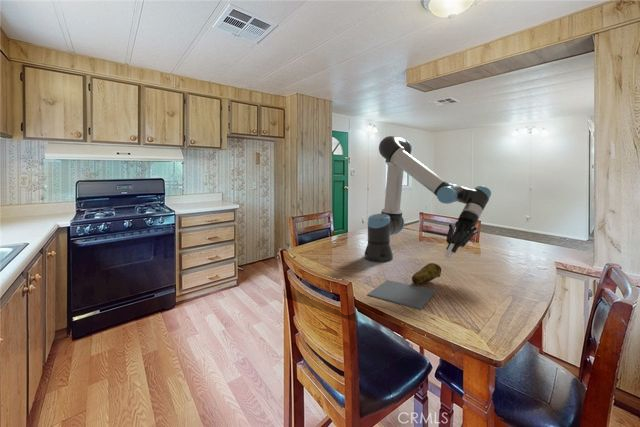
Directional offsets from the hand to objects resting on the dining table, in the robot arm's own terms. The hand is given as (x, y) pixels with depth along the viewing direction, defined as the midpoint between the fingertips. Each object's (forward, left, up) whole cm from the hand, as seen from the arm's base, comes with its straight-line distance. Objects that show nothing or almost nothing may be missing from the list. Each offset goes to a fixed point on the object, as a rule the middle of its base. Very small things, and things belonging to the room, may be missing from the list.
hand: (447, 257), depth 123 cm
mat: (-9, -27, -9) cm, 30 cm away
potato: (-5, -11, -9) cm, 15 cm away
